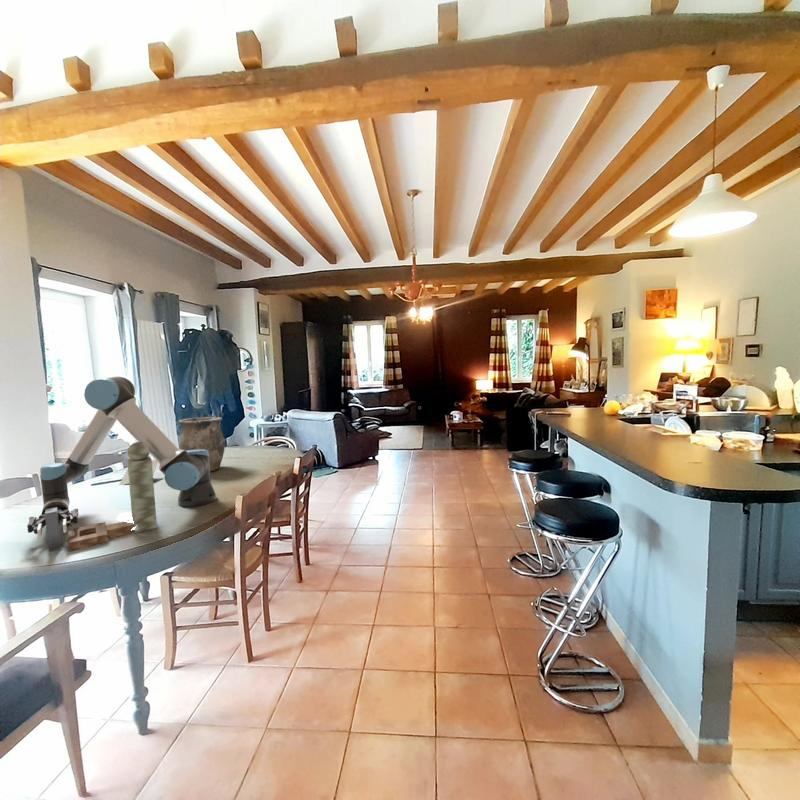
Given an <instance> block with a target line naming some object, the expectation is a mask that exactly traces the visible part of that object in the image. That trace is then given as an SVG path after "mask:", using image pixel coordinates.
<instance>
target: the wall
mask: <svg viewBox="0 0 800 800" xmlns="http://www.w3.org/2000/svg"><path fill="white" fill-rule="evenodd" d="M158 464H159V463H158V462H157V460H156V459H154V460H152V471H153V476H154V475H155V472H156V470H157V466H158ZM128 484H129V474H128V468H127V469H126V471H125V473H124V475H123V477H122V479H121V481H120V483H119V484H118V485H119V486H124V485H128Z"/></svg>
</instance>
